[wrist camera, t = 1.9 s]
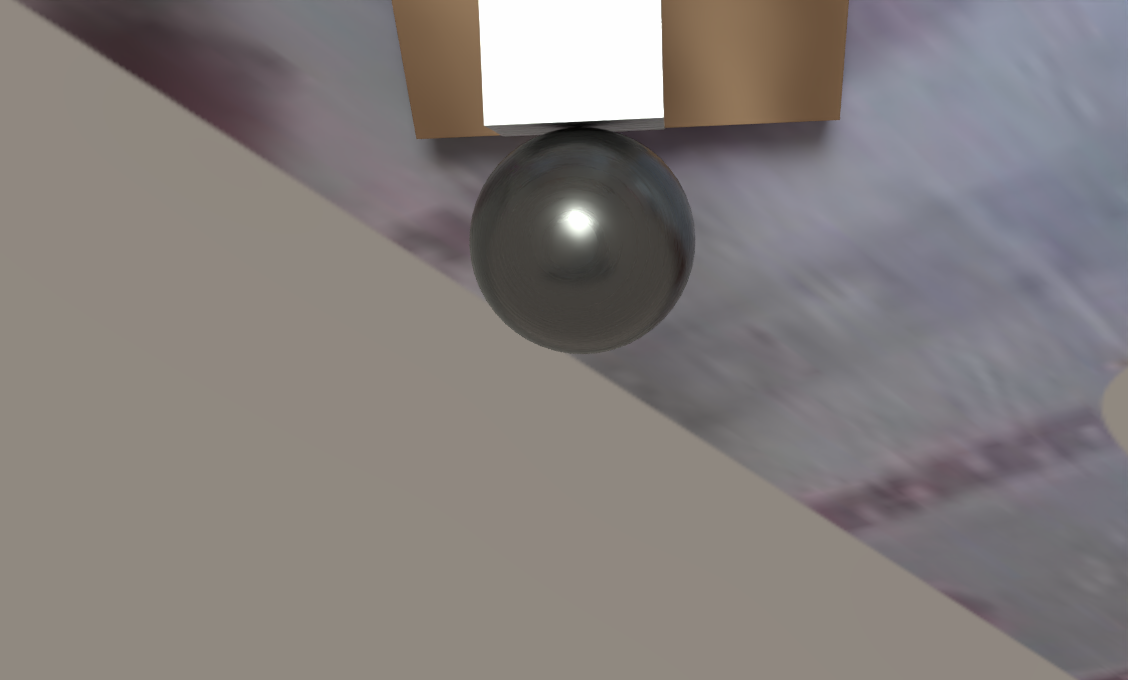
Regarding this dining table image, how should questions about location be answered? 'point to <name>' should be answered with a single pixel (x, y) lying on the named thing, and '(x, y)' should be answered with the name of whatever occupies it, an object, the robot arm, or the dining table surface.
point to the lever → (578, 175)
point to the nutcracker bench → (690, 62)
